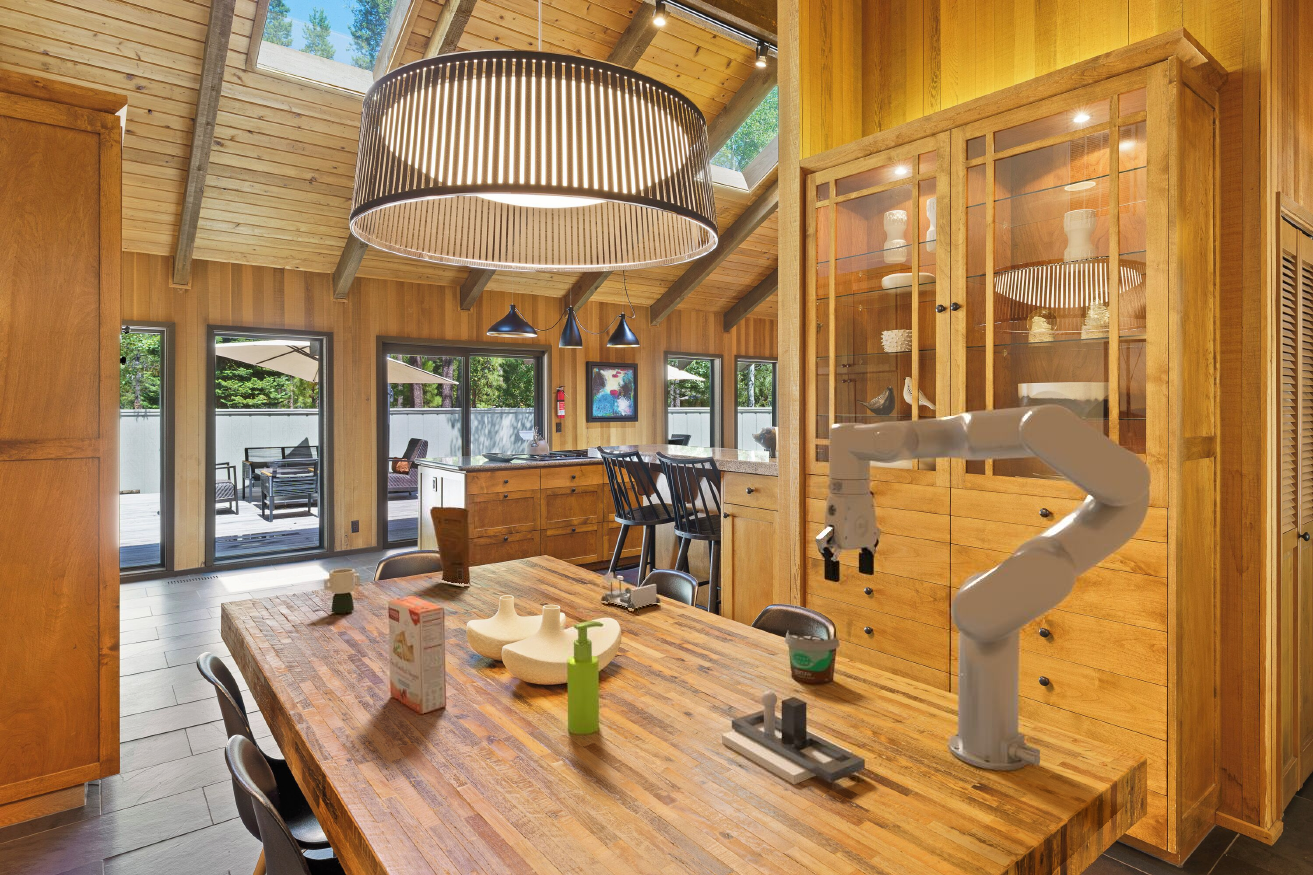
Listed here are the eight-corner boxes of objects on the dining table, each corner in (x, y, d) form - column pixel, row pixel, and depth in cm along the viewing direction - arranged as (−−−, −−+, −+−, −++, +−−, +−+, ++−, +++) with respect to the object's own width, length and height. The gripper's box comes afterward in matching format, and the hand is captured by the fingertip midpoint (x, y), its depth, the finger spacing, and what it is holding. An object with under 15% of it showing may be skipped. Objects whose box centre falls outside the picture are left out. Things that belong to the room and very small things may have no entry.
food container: (777, 681, 159) (777, 636, 158) (786, 672, 164) (786, 629, 164) (833, 690, 153) (833, 644, 153) (839, 681, 158) (839, 636, 158)
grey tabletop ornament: (595, 572, 228) (622, 567, 236) (595, 603, 228) (622, 596, 236) (633, 581, 215) (660, 575, 223) (633, 613, 215) (660, 606, 224)
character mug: (354, 607, 224) (354, 566, 223) (365, 611, 219) (364, 569, 219) (319, 614, 216) (318, 572, 215) (330, 618, 211) (329, 575, 210)
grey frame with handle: (864, 768, 116) (864, 719, 116) (830, 782, 111) (830, 732, 111) (763, 717, 136) (763, 676, 136) (731, 728, 131) (731, 685, 131)
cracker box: (388, 697, 151) (386, 599, 150) (415, 689, 155) (413, 594, 155) (419, 716, 141) (417, 611, 141) (447, 707, 145) (445, 606, 145)
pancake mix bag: (462, 589, 245) (461, 509, 245) (429, 582, 257) (428, 505, 256) (478, 586, 251) (476, 507, 250) (445, 579, 262) (444, 503, 262)
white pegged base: (852, 760, 122) (852, 705, 122) (793, 784, 114) (793, 726, 114) (778, 723, 137) (778, 674, 136) (721, 742, 129) (721, 691, 128)
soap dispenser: (609, 728, 135) (608, 624, 134) (575, 737, 131) (574, 629, 131) (596, 717, 140) (595, 616, 139) (563, 725, 136) (562, 622, 136)
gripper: (833, 492, 127) (833, 587, 127) (894, 486, 137) (894, 574, 137) (802, 489, 133) (802, 579, 134) (863, 483, 143) (863, 568, 143)
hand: (849, 577), depth 135 cm, fingers open, 9 cm apart
